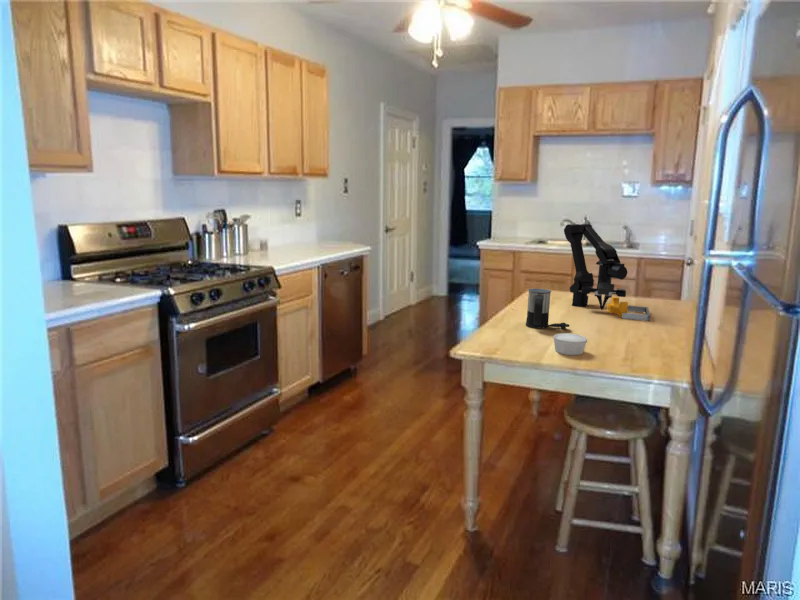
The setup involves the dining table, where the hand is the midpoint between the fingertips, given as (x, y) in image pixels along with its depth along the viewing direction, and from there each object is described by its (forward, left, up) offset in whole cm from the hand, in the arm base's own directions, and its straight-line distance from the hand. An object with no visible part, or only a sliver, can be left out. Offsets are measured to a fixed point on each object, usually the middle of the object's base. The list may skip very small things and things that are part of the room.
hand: (601, 309), depth 267 cm
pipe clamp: (+6, +1, -2) cm, 7 cm away
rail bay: (+14, 0, -1) cm, 14 cm away
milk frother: (-20, -39, -1) cm, 44 cm away
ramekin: (-9, -70, -1) cm, 70 cm away
